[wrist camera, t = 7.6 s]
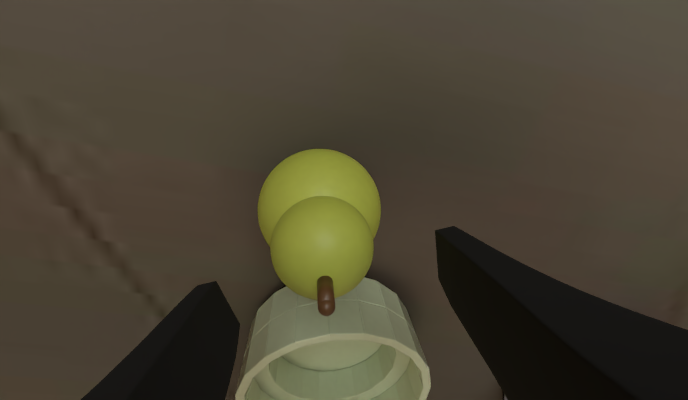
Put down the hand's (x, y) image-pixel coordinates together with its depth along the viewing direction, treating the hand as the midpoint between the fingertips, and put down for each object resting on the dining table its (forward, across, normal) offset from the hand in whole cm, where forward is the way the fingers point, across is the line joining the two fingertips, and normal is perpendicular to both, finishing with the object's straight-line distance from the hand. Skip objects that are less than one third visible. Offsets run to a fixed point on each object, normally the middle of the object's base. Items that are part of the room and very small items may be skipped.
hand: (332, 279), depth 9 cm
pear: (+8, 0, 0) cm, 8 cm away
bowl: (+8, +2, +11) cm, 14 cm away
